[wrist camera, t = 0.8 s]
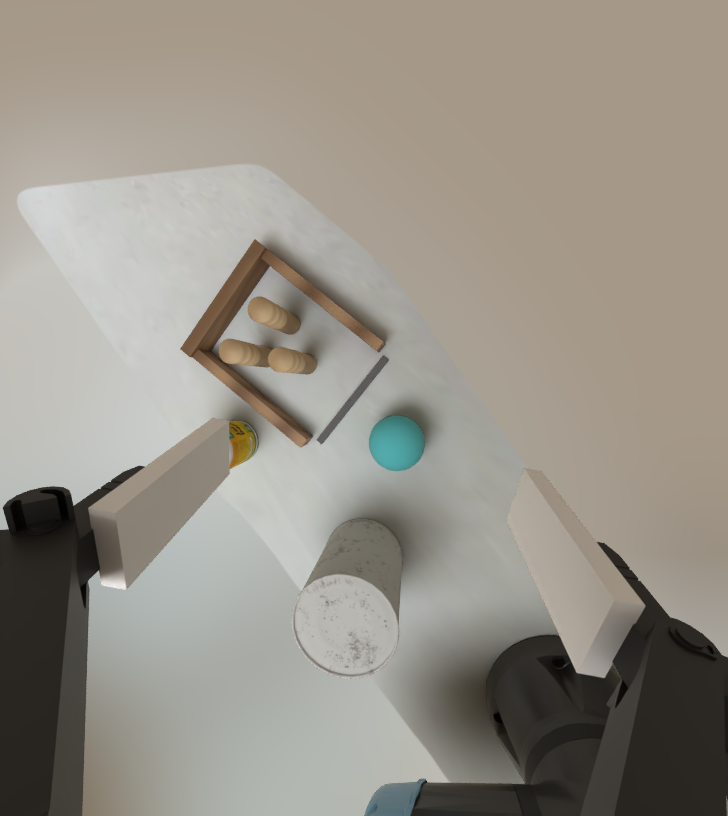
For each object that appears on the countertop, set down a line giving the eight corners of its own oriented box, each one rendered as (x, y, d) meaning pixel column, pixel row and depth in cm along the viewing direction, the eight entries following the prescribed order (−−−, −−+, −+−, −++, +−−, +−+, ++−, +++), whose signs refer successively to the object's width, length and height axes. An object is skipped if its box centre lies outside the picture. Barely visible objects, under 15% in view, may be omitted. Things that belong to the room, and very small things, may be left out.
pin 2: (304, 322, 41) (276, 306, 33) (292, 338, 41) (261, 327, 33) (288, 309, 41) (257, 291, 33) (277, 326, 41) (242, 312, 33)
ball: (434, 435, 40) (438, 444, 34) (401, 473, 41) (399, 489, 35) (394, 402, 40) (391, 406, 34) (362, 441, 41) (353, 451, 35)
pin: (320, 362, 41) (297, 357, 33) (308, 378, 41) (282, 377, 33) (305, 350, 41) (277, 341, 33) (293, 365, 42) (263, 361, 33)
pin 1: (279, 355, 42) (246, 349, 33) (268, 371, 42) (232, 368, 34) (264, 343, 42) (227, 333, 33) (253, 359, 42) (214, 353, 34)
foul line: (388, 360, 40) (388, 360, 40) (321, 444, 42) (321, 444, 42) (383, 356, 40) (382, 355, 40) (316, 439, 42) (316, 440, 42)
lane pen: (385, 344, 40) (382, 341, 37) (306, 443, 42) (299, 448, 39) (266, 249, 41) (254, 239, 38) (196, 351, 43) (180, 348, 40)
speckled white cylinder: (322, 586, 43) (287, 667, 31) (328, 513, 42) (295, 566, 30) (398, 600, 42) (393, 688, 30) (406, 524, 41) (404, 584, 29)
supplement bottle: (216, 456, 44) (161, 476, 34) (223, 415, 43) (170, 424, 34) (255, 466, 43) (211, 490, 34) (263, 425, 43) (220, 437, 33)
